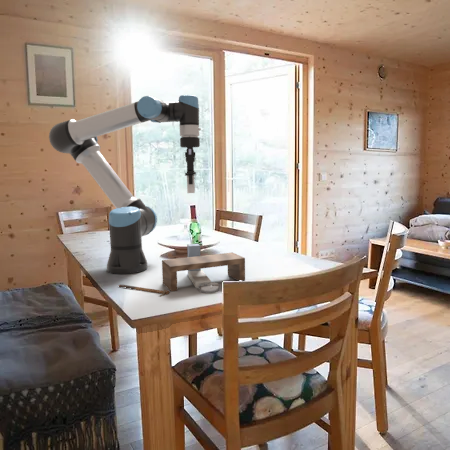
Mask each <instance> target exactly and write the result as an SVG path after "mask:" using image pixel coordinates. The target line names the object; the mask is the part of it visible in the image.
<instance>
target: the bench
mask: <svg viewBox="0 0 450 450" xmlns="http://www.w3.org/2000/svg"><path fill="white" fill-rule="evenodd" d="M224 266H225V267H226V266H227V276H229V277H230V278H233V279H234V280H236V281H238V280H245V281H246V258H245V257H243V256H241V255H239V254H237V253H234V252H224V253H216V254H215V253H214V254H208V255H200V256H196V257H188V256H187V257H178V258H171V259H170V258H169V259H162V260H161V272H162V273H161V275H162V284H163V285H164V286H165V287H166V288H167V289H168V291H170V292H175V291H176V292H178V272H184V271H188V270H193V269H201V270H202V269H208V268H217V267H224Z"/></svg>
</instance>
